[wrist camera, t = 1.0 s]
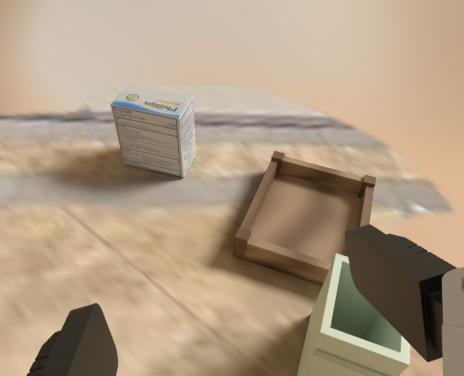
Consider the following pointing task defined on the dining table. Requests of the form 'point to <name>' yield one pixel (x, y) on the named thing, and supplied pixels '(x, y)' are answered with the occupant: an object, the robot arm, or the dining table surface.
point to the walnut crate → (303, 217)
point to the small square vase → (349, 333)
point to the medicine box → (155, 129)
